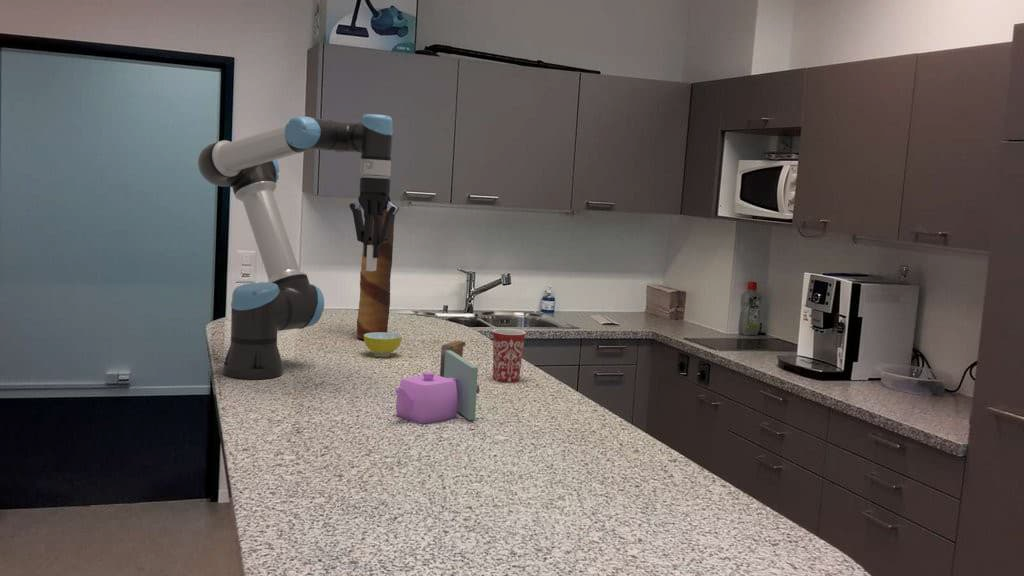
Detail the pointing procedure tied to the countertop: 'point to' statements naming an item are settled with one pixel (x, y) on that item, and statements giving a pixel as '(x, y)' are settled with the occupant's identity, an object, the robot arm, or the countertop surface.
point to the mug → (507, 354)
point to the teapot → (427, 398)
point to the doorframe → (453, 346)
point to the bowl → (382, 343)
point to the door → (463, 382)
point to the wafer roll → (375, 290)
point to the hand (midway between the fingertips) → (371, 270)
